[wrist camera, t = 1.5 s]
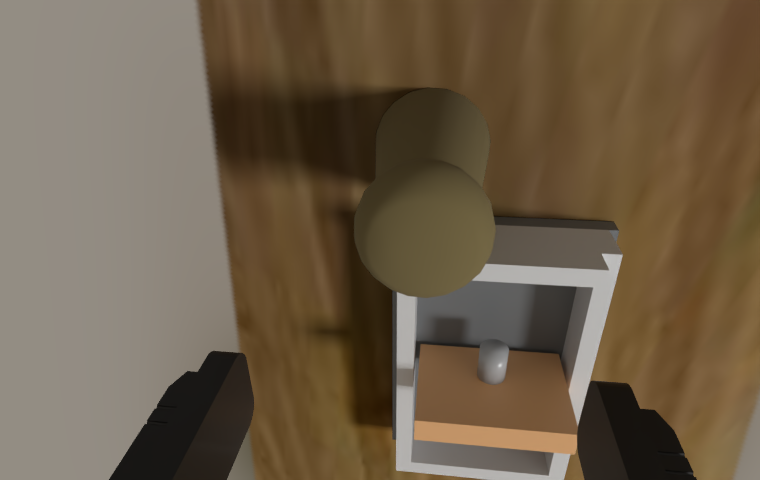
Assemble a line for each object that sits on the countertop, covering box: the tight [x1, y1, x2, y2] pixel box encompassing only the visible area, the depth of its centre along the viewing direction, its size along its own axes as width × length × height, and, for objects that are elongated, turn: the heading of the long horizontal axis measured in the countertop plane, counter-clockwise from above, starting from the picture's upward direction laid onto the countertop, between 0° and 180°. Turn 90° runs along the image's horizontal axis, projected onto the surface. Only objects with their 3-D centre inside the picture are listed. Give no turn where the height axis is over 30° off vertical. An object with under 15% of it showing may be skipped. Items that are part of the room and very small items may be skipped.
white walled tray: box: [392, 217, 623, 480], centre depth 31 cm, size 18×12×5 cm, turn 1°
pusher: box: [414, 339, 578, 455], centre depth 29 cm, size 4×8×6 cm, turn 91°
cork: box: [354, 88, 496, 298], centre depth 22 cm, size 6×6×11 cm
